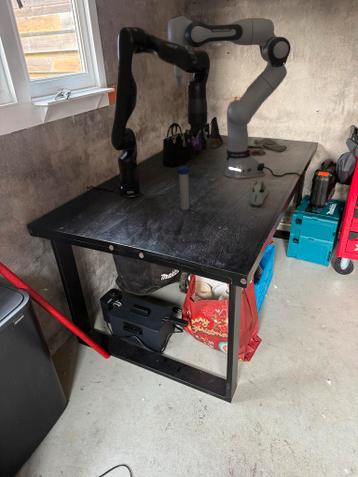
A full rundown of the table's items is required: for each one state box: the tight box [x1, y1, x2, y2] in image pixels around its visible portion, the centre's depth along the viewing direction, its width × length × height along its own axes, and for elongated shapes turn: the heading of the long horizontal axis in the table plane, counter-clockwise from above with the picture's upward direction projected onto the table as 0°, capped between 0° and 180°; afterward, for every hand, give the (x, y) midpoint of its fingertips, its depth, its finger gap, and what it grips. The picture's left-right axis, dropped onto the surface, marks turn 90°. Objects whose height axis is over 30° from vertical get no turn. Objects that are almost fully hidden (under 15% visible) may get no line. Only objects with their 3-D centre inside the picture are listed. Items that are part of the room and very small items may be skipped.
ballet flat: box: [249, 179, 269, 207], centre depth 158 cm, size 8×24×8 cm, turn 163°
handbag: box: [162, 122, 190, 168], centre depth 210 cm, size 21×9×25 cm, turn 148°
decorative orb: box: [187, 136, 202, 154], centre depth 230 cm, size 15×15×15 cm
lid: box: [177, 165, 190, 175], centre depth 145 cm, size 5×5×2 cm
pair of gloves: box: [247, 138, 288, 155], centre depth 230 cm, size 30×26×5 cm
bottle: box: [178, 173, 190, 211], centre depth 149 cm, size 4×4×19 cm
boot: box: [209, 116, 224, 149], centre depth 245 cm, size 9×24×20 cm, turn 168°
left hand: (198, 152), depth 134 cm, fingers open, 8 cm apart
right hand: (179, 86), depth 168 cm, fingers open, 8 cm apart
